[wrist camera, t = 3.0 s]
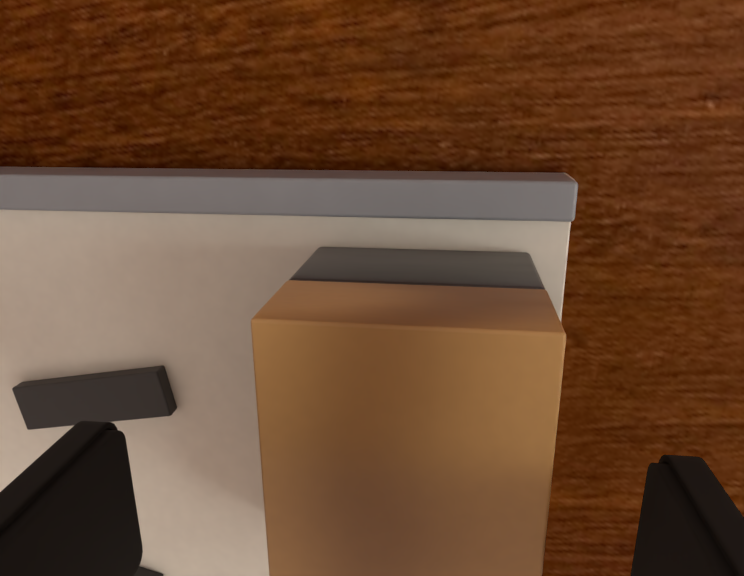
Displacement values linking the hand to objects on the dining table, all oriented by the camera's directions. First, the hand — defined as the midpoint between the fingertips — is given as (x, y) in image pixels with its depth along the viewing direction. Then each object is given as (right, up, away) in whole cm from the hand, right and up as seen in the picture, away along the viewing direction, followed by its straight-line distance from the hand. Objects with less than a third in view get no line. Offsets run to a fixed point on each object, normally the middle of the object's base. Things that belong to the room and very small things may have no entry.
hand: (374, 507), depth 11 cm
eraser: (+1, +1, +3) cm, 4 cm away
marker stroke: (-7, +1, +4) cm, 8 cm away
